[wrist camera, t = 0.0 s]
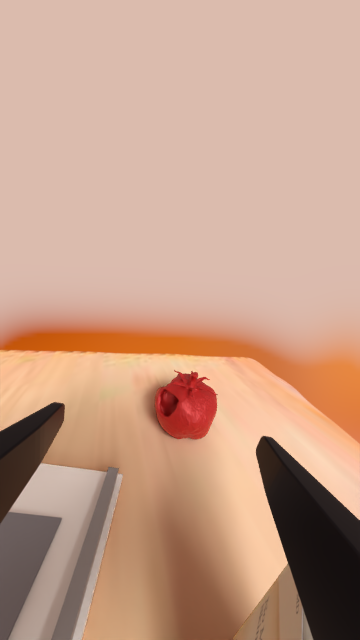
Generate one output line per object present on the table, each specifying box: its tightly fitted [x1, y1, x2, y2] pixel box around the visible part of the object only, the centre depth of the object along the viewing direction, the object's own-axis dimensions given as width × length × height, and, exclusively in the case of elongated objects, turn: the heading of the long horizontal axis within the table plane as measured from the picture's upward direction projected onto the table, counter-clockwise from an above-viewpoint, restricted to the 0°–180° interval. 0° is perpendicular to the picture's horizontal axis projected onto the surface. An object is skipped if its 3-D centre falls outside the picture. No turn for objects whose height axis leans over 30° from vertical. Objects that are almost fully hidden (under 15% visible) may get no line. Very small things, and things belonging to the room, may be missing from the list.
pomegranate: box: [155, 370, 218, 439], centre depth 29 cm, size 10×10×9 cm
